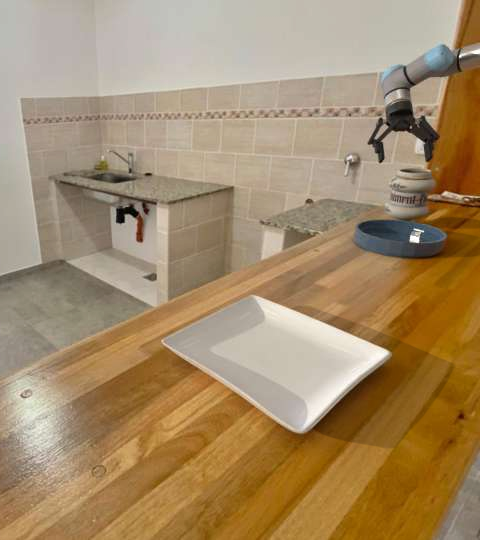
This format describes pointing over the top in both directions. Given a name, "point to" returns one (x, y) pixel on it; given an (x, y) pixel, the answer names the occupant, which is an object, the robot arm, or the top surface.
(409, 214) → the apothecary jar
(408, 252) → the bowl
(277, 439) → the top surface
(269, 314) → the square plate
